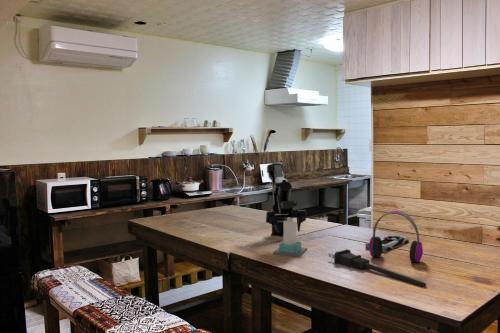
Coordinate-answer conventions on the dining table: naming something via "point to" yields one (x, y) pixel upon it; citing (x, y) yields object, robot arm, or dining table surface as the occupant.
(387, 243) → the graphics card
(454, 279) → the dining table surface
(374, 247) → the headphones
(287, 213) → the robot arm
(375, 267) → the electrical plug
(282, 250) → the holder board
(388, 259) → the dining table surface
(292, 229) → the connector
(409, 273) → the dining table surface
